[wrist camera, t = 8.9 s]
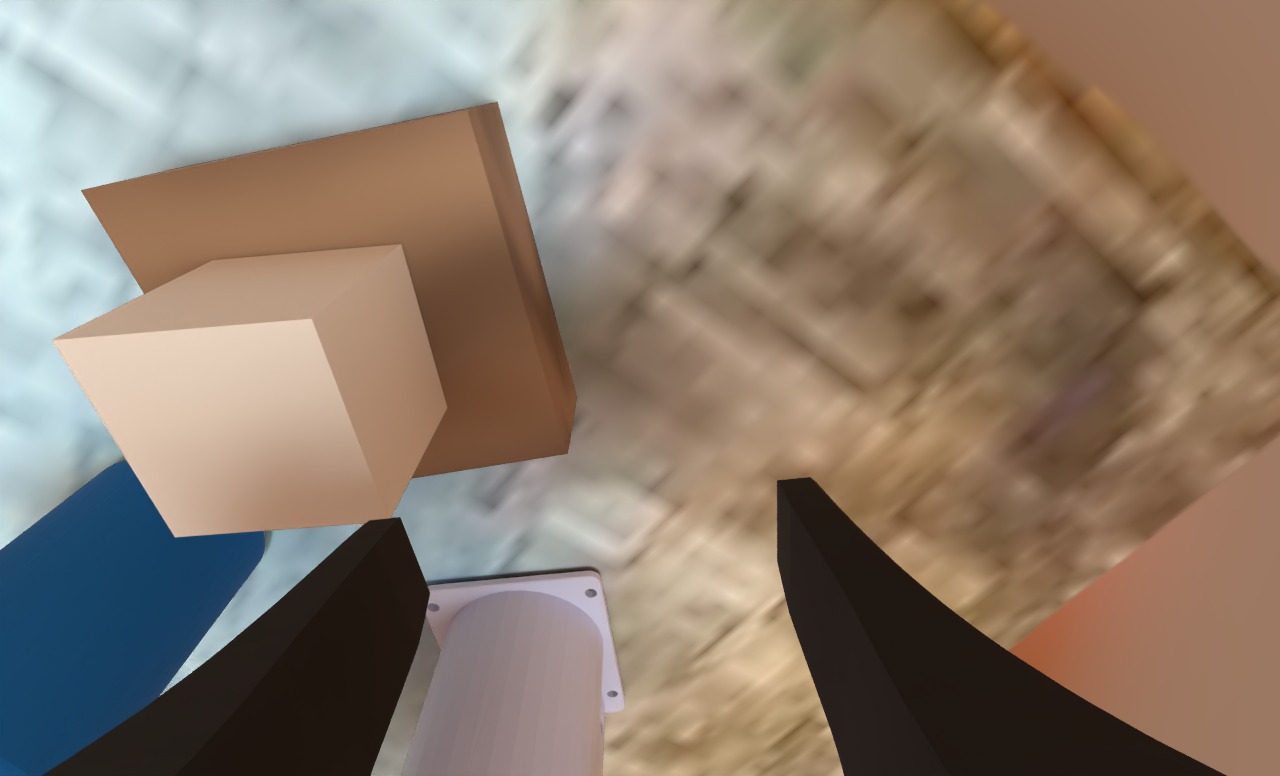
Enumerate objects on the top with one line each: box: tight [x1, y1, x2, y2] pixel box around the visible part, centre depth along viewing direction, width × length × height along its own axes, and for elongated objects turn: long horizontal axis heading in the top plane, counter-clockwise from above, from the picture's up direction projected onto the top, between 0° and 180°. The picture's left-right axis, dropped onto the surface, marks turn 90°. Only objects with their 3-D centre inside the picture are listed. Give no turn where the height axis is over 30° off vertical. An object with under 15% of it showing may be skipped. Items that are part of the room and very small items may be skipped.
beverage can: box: [0, 460, 266, 776], centre depth 19 cm, size 6×6×12 cm
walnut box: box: [81, 102, 577, 479], centre depth 19 cm, size 10×10×4 cm
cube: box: [52, 244, 447, 537], centre depth 15 cm, size 5×5×5 cm
